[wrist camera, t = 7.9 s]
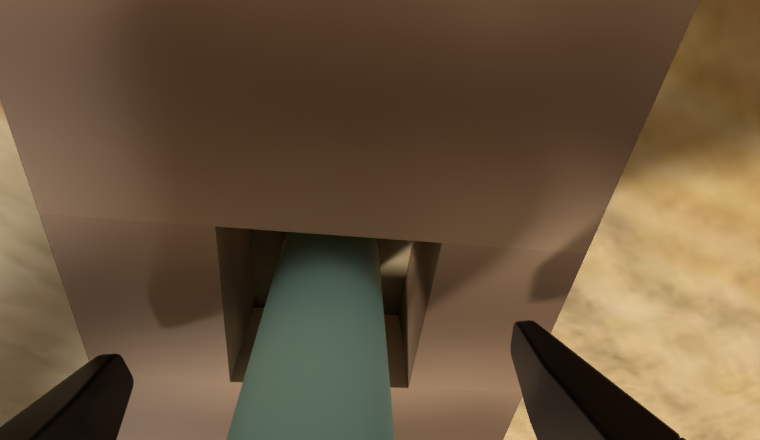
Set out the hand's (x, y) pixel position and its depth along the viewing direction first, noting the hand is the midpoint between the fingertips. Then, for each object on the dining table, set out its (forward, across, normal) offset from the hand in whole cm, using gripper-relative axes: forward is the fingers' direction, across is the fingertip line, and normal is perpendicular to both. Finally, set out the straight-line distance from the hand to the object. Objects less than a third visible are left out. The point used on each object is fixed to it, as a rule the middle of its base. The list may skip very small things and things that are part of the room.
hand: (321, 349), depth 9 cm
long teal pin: (+4, 0, 0) cm, 4 cm away
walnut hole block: (+4, 0, 0) cm, 4 cm away
